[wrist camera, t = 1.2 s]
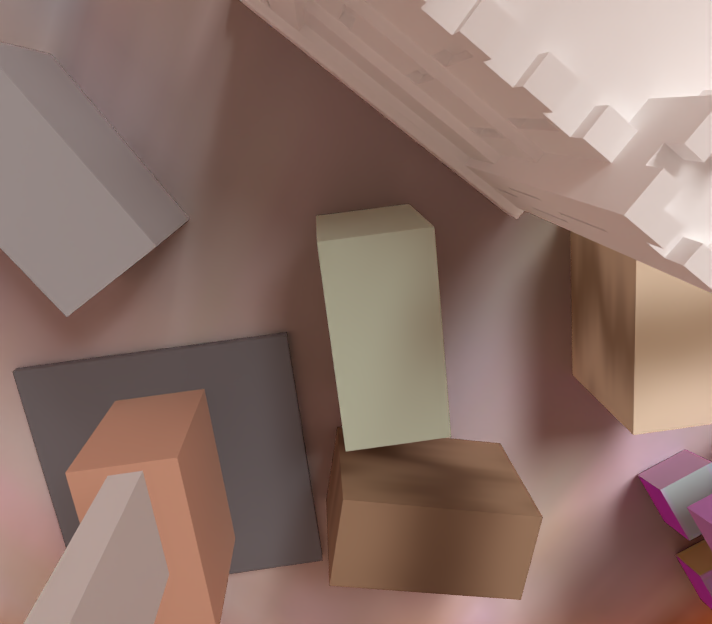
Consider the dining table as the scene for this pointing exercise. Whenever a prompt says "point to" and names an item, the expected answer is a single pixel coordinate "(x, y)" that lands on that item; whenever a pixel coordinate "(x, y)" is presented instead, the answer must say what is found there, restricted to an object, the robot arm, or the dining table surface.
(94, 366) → the felt mat
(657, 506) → the toy
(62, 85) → the grey brick
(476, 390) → the dining table surface
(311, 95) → the dining table surface
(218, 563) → the terracotta brick
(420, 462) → the walnut brick
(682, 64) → the castle model
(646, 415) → the maple brick
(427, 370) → the sage brick
